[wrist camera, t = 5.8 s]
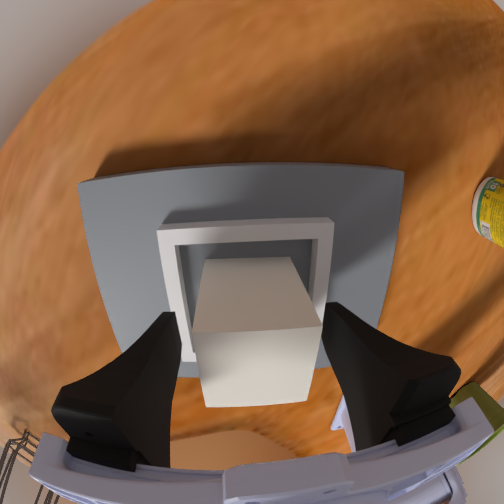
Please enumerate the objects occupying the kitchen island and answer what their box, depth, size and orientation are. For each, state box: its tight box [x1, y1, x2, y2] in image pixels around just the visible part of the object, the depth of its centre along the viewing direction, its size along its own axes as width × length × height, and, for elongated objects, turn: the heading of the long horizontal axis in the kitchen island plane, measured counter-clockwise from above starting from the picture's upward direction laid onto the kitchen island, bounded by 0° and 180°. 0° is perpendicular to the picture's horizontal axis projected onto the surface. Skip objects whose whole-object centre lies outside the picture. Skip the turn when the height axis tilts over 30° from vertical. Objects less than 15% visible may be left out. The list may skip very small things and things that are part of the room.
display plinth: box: [77, 162, 404, 377], centre depth 16 cm, size 18×14×3 cm
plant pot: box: [449, 382, 504, 465], centre depth 24 cm, size 12×12×11 cm
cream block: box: [192, 257, 323, 407], centre depth 13 cm, size 4×4×6 cm
